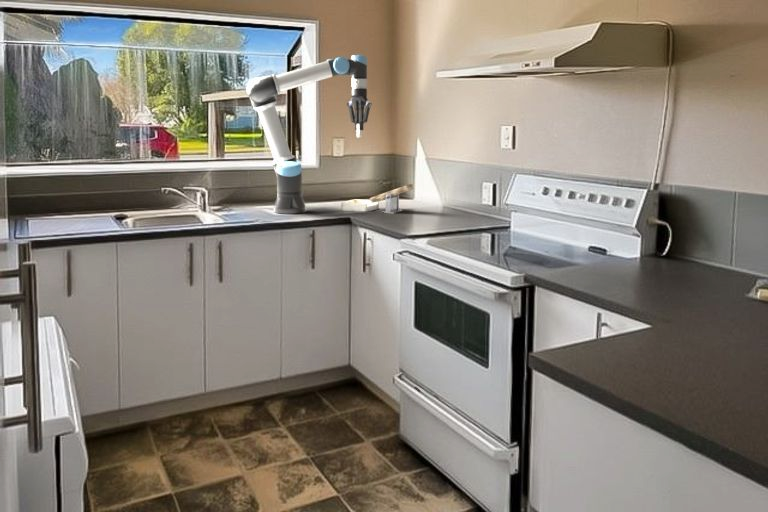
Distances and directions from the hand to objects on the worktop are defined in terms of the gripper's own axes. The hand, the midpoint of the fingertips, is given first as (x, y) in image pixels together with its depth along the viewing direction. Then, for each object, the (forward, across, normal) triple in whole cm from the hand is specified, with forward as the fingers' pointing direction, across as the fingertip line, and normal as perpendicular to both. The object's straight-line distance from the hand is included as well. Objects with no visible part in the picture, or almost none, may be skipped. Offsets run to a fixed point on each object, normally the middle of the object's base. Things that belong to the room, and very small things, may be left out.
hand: (359, 137), depth 365 cm
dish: (+34, +5, -9) cm, 36 cm away
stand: (+34, +22, -9) cm, 42 cm away
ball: (+32, +2, -9) cm, 33 cm away
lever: (+27, +22, -6) cm, 35 cm away
